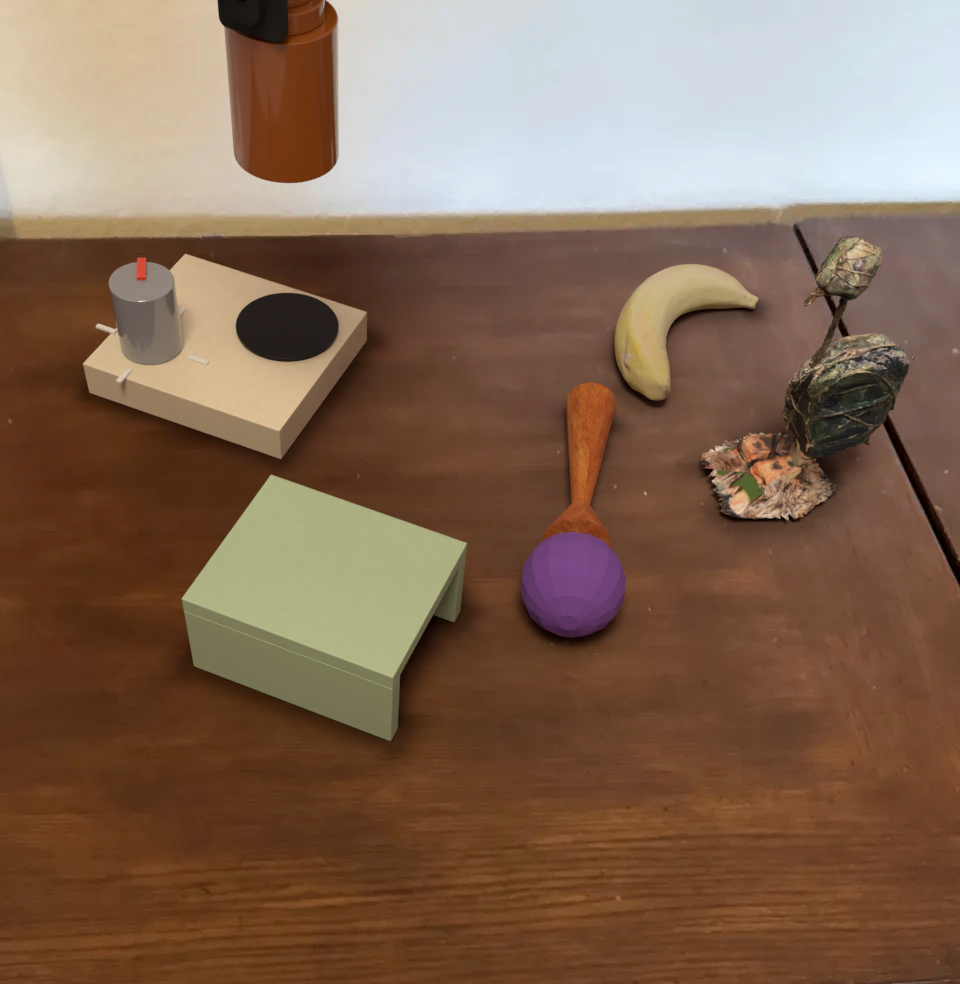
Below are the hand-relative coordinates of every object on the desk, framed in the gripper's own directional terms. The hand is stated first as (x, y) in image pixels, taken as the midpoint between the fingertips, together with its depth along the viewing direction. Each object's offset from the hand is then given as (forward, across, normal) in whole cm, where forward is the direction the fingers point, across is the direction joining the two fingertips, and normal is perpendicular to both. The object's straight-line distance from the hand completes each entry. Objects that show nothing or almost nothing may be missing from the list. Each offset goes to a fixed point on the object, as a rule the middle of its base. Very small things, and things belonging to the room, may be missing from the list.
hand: (279, 5), depth 57 cm
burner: (+26, +8, +5) cm, 28 cm away
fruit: (+29, +22, -19) cm, 41 cm away
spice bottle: (+7, 0, 0) cm, 7 cm away
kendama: (+29, +2, -18) cm, 34 cm away
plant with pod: (+29, +12, -29) cm, 43 cm away
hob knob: (+26, +3, +12) cm, 29 cm away
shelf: (+29, -12, -8) cm, 32 cm away
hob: (+29, +6, +8) cm, 31 cm away
